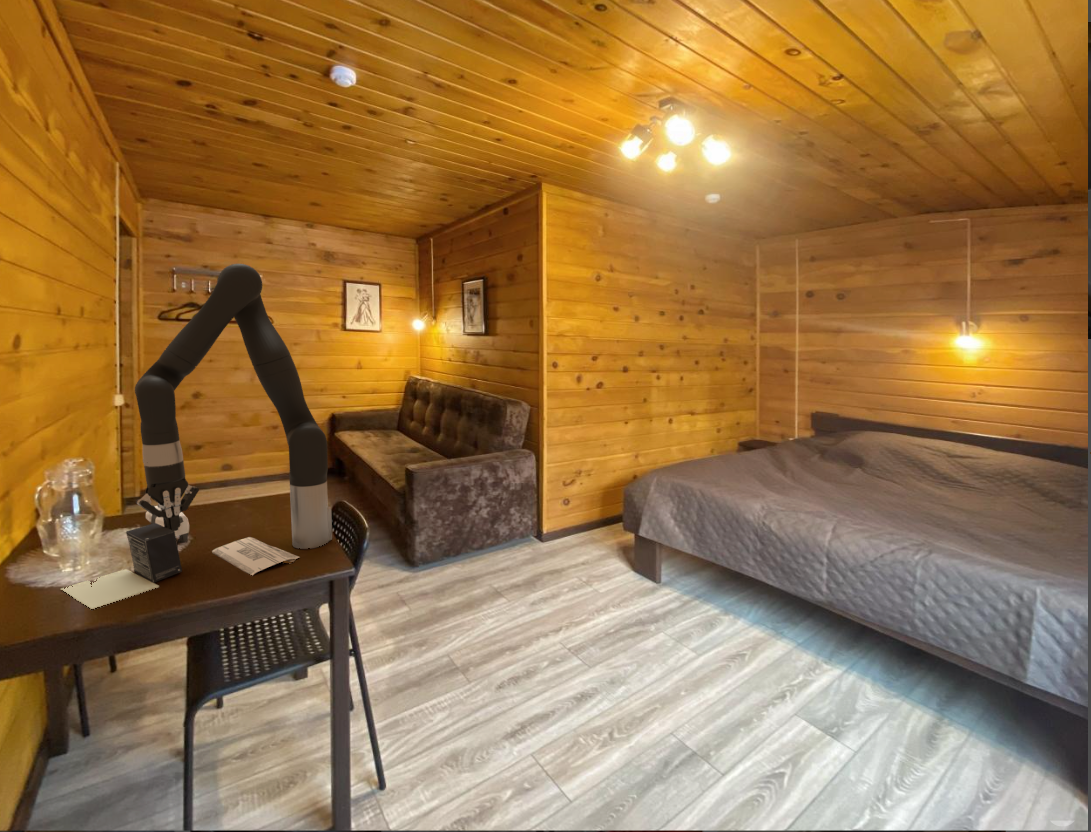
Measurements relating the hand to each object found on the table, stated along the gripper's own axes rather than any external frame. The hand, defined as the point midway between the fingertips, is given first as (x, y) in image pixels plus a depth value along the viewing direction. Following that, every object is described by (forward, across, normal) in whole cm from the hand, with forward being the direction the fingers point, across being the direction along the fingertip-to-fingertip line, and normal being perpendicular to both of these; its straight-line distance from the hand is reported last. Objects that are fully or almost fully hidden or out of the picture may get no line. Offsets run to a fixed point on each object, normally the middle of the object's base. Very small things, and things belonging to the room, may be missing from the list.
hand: (173, 530), depth 125 cm
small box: (+9, -4, 0) cm, 10 cm away
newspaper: (+11, +14, -9) cm, 20 cm away
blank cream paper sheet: (+9, -14, 0) cm, 16 cm away
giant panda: (+10, +7, +21) cm, 24 cm away
